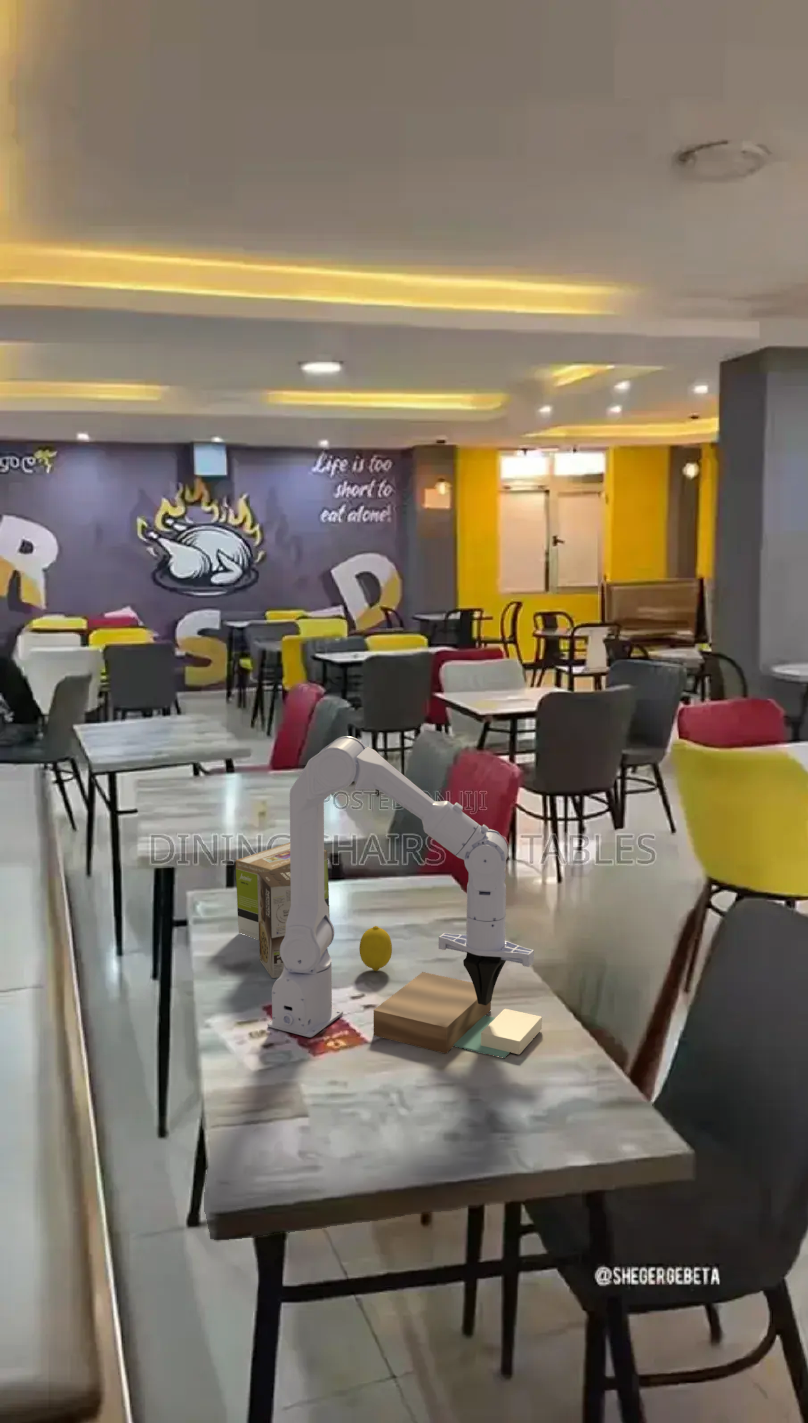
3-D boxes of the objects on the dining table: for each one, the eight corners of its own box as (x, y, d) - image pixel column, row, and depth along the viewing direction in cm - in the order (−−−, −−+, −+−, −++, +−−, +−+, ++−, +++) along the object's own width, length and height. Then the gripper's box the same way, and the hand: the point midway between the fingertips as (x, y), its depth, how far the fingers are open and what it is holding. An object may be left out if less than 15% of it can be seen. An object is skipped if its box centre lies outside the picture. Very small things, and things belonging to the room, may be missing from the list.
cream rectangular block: (480, 1032, 156) (480, 1045, 157) (519, 1041, 154) (519, 1054, 154) (504, 1008, 164) (504, 1020, 165) (541, 1016, 161) (541, 1029, 162)
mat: (504, 1058, 153) (504, 1056, 153) (453, 1046, 157) (453, 1044, 157) (532, 1028, 163) (532, 1026, 163) (484, 1016, 167) (484, 1014, 167)
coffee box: (308, 973, 183) (307, 882, 180) (271, 979, 180) (269, 886, 178) (293, 954, 191) (292, 866, 188) (258, 959, 189) (256, 870, 186)
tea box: (293, 912, 212) (292, 839, 210) (330, 924, 206) (330, 849, 204) (236, 934, 201) (234, 857, 198) (273, 947, 195) (272, 868, 192)
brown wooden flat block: (446, 1053, 155) (446, 1027, 154) (373, 1035, 160) (373, 1009, 160) (490, 1010, 169) (491, 986, 168) (422, 995, 174) (422, 971, 174)
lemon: (378, 980, 180) (378, 934, 179) (353, 971, 183) (352, 927, 182) (398, 969, 184) (398, 925, 183) (373, 961, 188) (373, 918, 186)
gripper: (542, 914, 158) (540, 1001, 161) (453, 898, 165) (452, 982, 167) (524, 929, 152) (522, 1020, 154) (432, 912, 159) (431, 999, 161)
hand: (484, 1001), depth 160 cm, fingers closed
